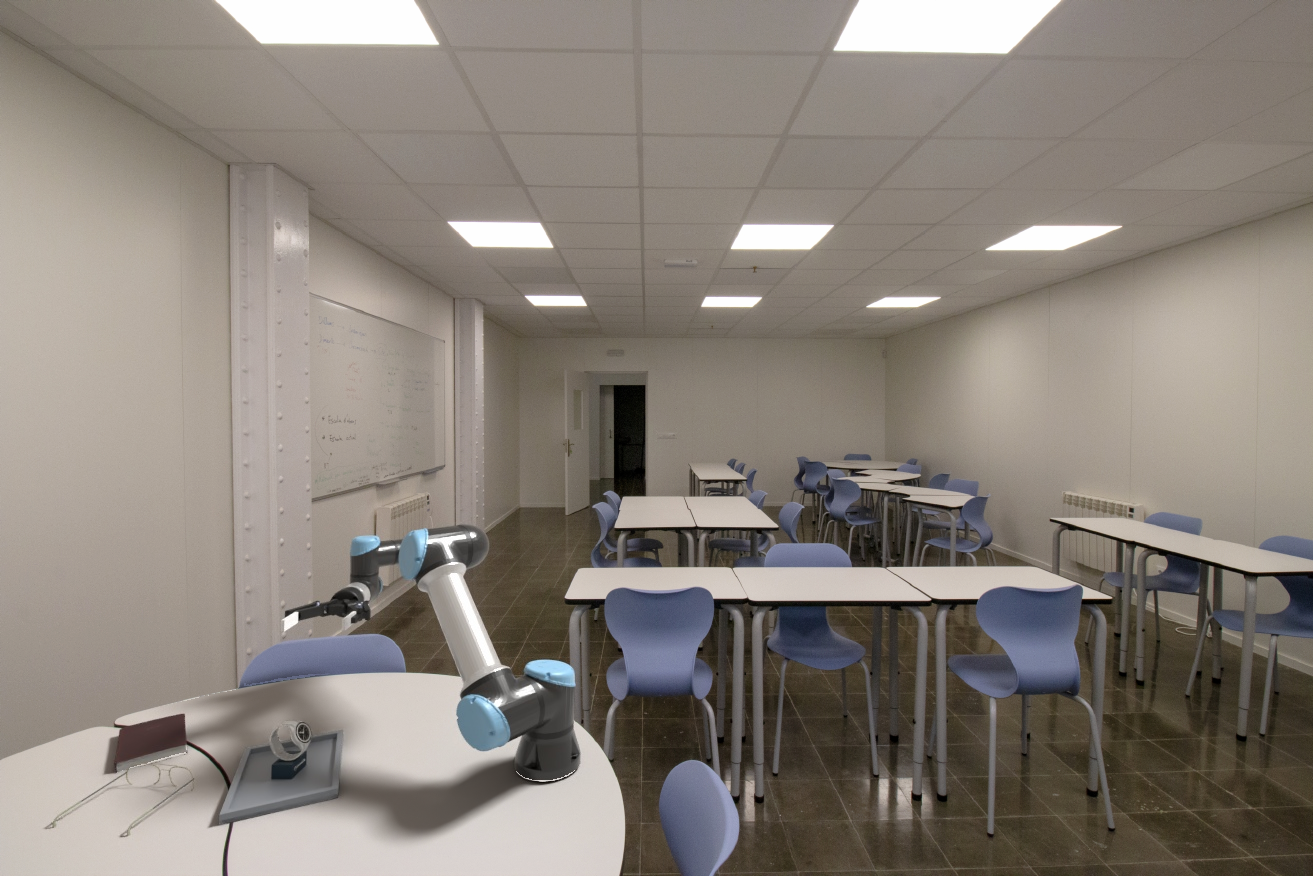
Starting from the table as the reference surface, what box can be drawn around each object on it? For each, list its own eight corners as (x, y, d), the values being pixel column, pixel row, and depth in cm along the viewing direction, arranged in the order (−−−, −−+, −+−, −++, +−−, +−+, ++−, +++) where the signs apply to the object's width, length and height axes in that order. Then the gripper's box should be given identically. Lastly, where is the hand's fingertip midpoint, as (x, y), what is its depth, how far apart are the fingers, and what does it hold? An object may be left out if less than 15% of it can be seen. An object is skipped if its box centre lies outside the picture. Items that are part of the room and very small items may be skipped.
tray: (338, 797, 119) (338, 788, 119) (219, 825, 110) (219, 814, 110) (342, 737, 142) (343, 729, 142) (245, 756, 133) (245, 747, 133)
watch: (300, 779, 123) (302, 728, 123) (262, 779, 123) (264, 728, 123) (315, 764, 129) (316, 716, 129) (279, 764, 128) (280, 715, 128)
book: (113, 776, 125) (113, 761, 125) (119, 739, 140) (119, 726, 140) (187, 756, 133) (187, 742, 133) (185, 723, 148) (185, 711, 148)
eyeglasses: (200, 789, 121) (200, 766, 121) (127, 838, 106) (128, 812, 106) (132, 783, 123) (132, 760, 123) (51, 830, 108) (52, 804, 108)
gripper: (397, 613, 158) (368, 640, 137) (301, 614, 155) (256, 642, 134) (398, 586, 158) (368, 609, 137) (302, 586, 155) (257, 610, 134)
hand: (313, 625), depth 135 cm, fingers open, 13 cm apart
